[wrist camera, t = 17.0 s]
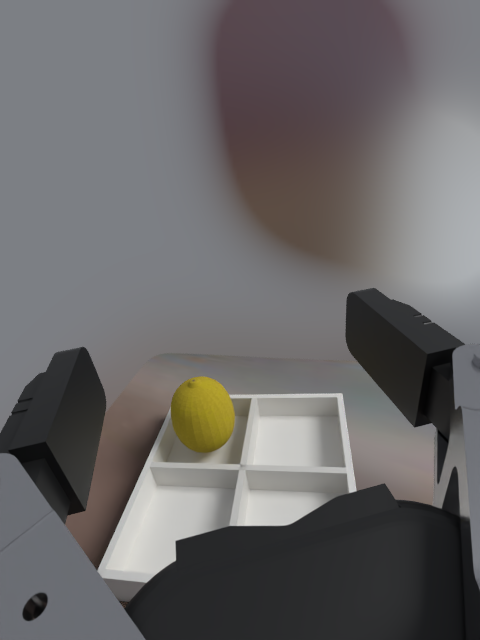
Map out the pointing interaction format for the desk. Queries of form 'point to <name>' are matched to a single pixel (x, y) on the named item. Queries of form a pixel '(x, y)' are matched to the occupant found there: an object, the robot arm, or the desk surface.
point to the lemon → (202, 414)
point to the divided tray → (231, 482)
